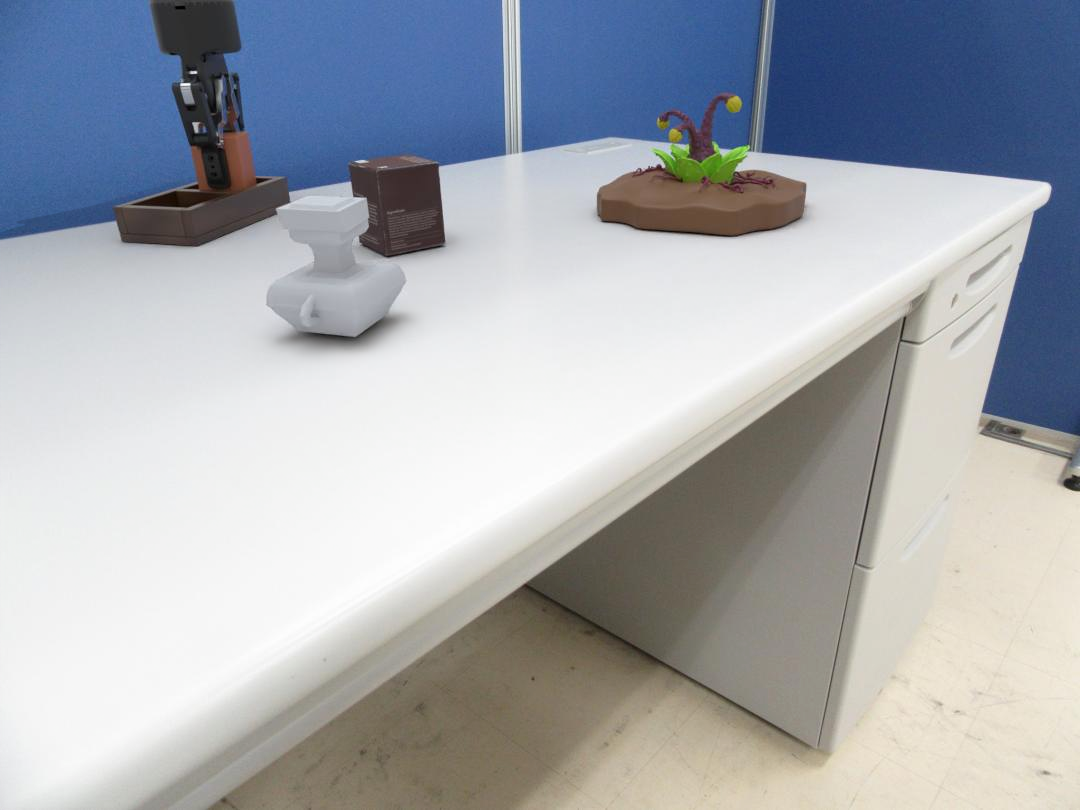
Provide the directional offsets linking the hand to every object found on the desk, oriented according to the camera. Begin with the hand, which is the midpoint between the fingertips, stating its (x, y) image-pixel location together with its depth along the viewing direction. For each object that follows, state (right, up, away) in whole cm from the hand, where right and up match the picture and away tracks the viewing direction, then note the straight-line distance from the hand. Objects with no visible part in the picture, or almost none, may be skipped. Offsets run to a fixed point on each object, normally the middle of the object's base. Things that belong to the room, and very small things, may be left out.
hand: (227, 181), depth 82 cm
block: (0, -1, +1) cm, 1 cm away
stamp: (+19, -18, -29) cm, 40 cm away
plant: (+49, -4, -2) cm, 49 cm away
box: (+20, -9, -11) cm, 25 cm away
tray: (-1, -5, -2) cm, 5 cm away
